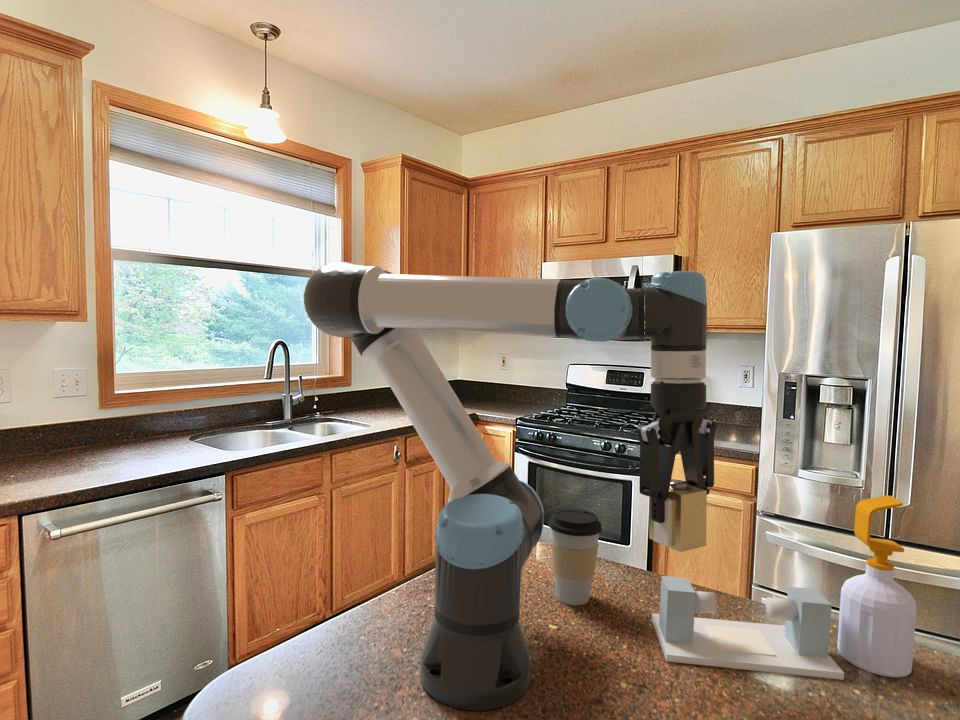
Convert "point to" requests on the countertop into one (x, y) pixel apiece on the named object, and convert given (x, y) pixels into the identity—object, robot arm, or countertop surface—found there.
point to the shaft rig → (747, 632)
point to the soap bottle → (877, 605)
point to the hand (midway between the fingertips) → (677, 539)
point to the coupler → (685, 516)
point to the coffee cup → (574, 553)
